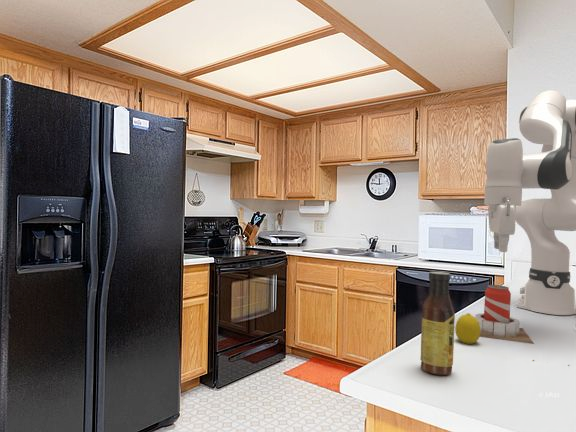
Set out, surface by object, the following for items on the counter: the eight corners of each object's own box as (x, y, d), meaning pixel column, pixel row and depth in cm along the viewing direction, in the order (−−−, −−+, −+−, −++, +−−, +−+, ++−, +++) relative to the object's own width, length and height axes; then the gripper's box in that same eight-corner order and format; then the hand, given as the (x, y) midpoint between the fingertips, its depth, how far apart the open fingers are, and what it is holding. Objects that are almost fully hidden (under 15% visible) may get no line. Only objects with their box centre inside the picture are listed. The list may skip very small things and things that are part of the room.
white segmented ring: (473, 323, 116) (474, 311, 116) (514, 329, 112) (515, 316, 112) (476, 333, 106) (477, 320, 106) (521, 339, 103) (522, 325, 103)
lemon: (468, 351, 95) (470, 317, 95) (449, 343, 100) (451, 311, 100) (484, 348, 98) (486, 315, 98) (465, 341, 103) (466, 309, 103)
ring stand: (464, 324, 119) (464, 320, 119) (522, 331, 114) (522, 328, 114) (467, 338, 105) (467, 334, 105) (534, 347, 100) (534, 343, 100)
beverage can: (512, 335, 106) (515, 289, 106) (486, 333, 107) (488, 287, 107) (505, 329, 112) (507, 285, 112) (480, 326, 113) (482, 283, 113)
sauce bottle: (455, 378, 79) (460, 276, 79) (421, 374, 80) (426, 274, 80) (449, 366, 85) (453, 271, 85) (418, 362, 87) (422, 269, 86)
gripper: (523, 197, 98) (520, 254, 98) (509, 200, 117) (507, 248, 117) (494, 196, 100) (491, 252, 100) (485, 199, 119) (483, 246, 120)
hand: (500, 250), depth 109 cm, fingers open, 8 cm apart
